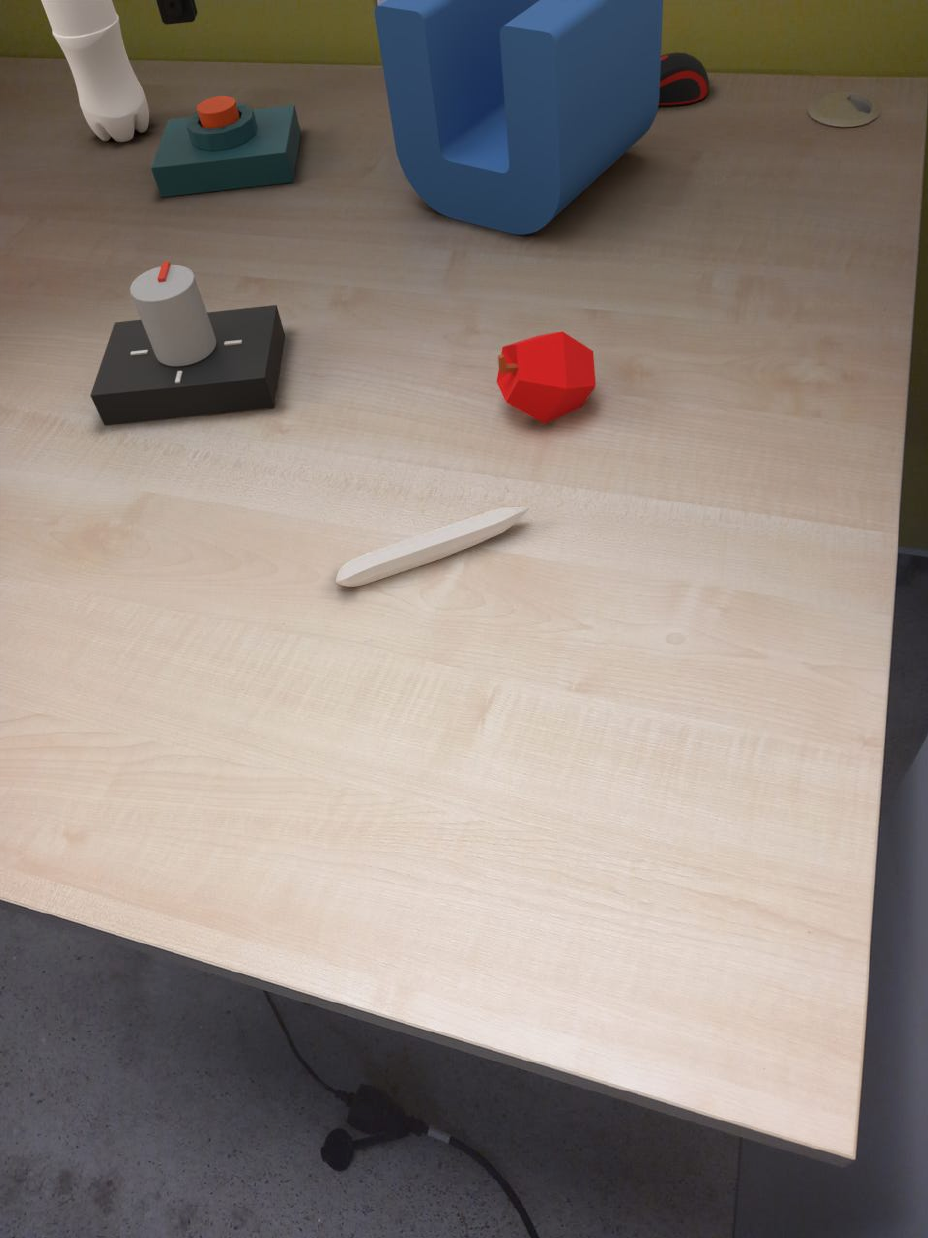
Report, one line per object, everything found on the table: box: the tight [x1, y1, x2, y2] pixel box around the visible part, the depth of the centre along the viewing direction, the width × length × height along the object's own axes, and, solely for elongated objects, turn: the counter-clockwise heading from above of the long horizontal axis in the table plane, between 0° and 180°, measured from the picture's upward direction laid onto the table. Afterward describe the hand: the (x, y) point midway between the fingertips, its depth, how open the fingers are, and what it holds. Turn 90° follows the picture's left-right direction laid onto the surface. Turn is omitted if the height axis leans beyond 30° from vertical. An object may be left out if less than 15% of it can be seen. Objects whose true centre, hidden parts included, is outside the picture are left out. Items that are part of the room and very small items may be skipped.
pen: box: [335, 506, 530, 588], centre depth 69 cm, size 2×14×2 cm, turn 111°
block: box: [374, 0, 664, 236], centre depth 94 cm, size 18×18×18 cm
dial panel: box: [90, 304, 286, 426], centre depth 84 cm, size 14×10×3 cm
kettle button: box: [196, 95, 240, 129], centre depth 106 cm, size 4×4×2 cm
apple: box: [496, 331, 597, 425], centre depth 76 cm, size 7×7×8 cm
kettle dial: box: [129, 261, 216, 367], centre depth 81 cm, size 5×5×6 cm
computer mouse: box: [658, 51, 710, 108], centre depth 108 cm, size 6×11×4 cm, turn 97°
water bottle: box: [40, 0, 150, 143], centre depth 108 cm, size 7×7×25 cm
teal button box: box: [150, 102, 302, 198], centre depth 108 cm, size 14×11×5 cm
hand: (180, 19), depth 98 cm, fingers closed
